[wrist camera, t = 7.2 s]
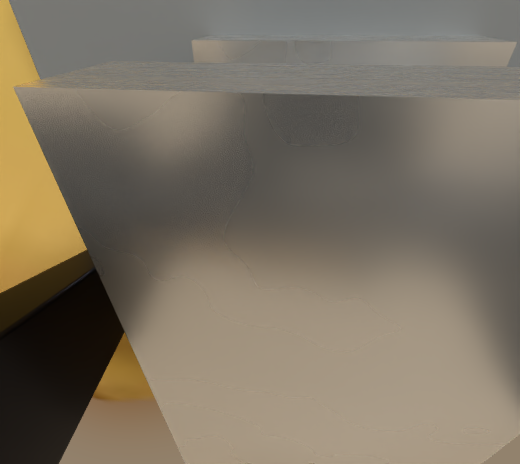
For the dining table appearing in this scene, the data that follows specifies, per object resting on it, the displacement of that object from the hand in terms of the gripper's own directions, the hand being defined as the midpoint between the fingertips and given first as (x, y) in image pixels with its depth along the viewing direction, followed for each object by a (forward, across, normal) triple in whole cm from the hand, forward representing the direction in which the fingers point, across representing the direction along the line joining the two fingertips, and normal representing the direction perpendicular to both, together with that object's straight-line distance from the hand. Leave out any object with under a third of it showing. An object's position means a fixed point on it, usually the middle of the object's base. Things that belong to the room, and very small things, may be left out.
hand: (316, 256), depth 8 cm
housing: (+2, 0, 0) cm, 2 cm away
